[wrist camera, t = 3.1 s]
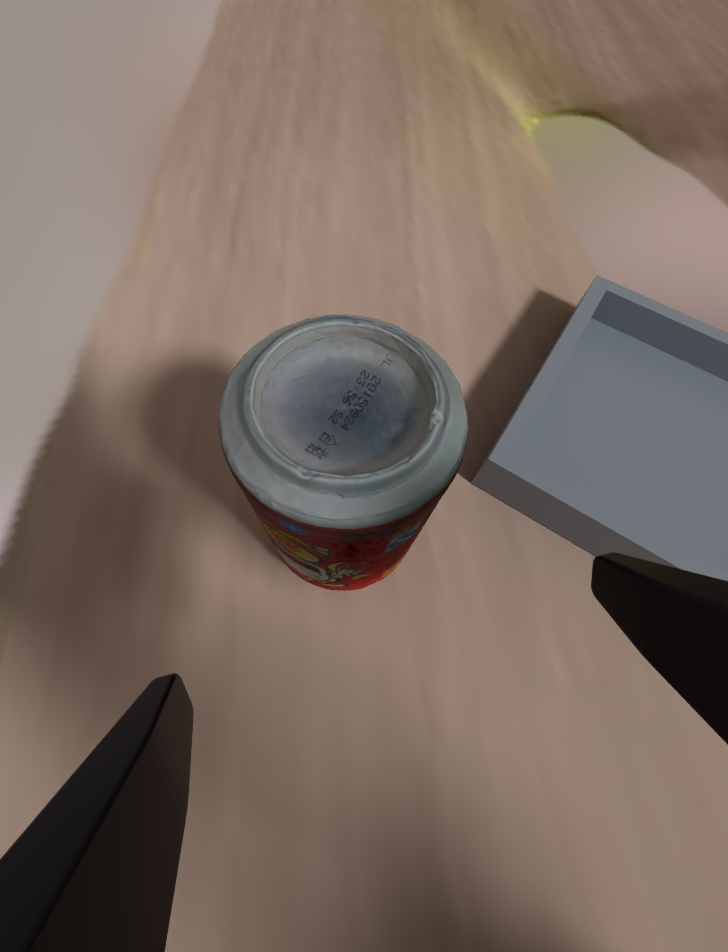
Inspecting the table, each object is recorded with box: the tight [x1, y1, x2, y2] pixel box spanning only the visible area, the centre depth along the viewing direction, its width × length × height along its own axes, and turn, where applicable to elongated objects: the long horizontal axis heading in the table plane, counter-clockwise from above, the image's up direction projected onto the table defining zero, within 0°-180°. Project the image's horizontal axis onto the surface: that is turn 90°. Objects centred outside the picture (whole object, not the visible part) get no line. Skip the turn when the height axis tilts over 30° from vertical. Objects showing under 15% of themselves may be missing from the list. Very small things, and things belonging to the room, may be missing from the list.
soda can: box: [219, 314, 468, 590], centre depth 16 cm, size 7×7×12 cm
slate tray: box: [471, 275, 728, 581], centre depth 23 cm, size 17×17×3 cm
